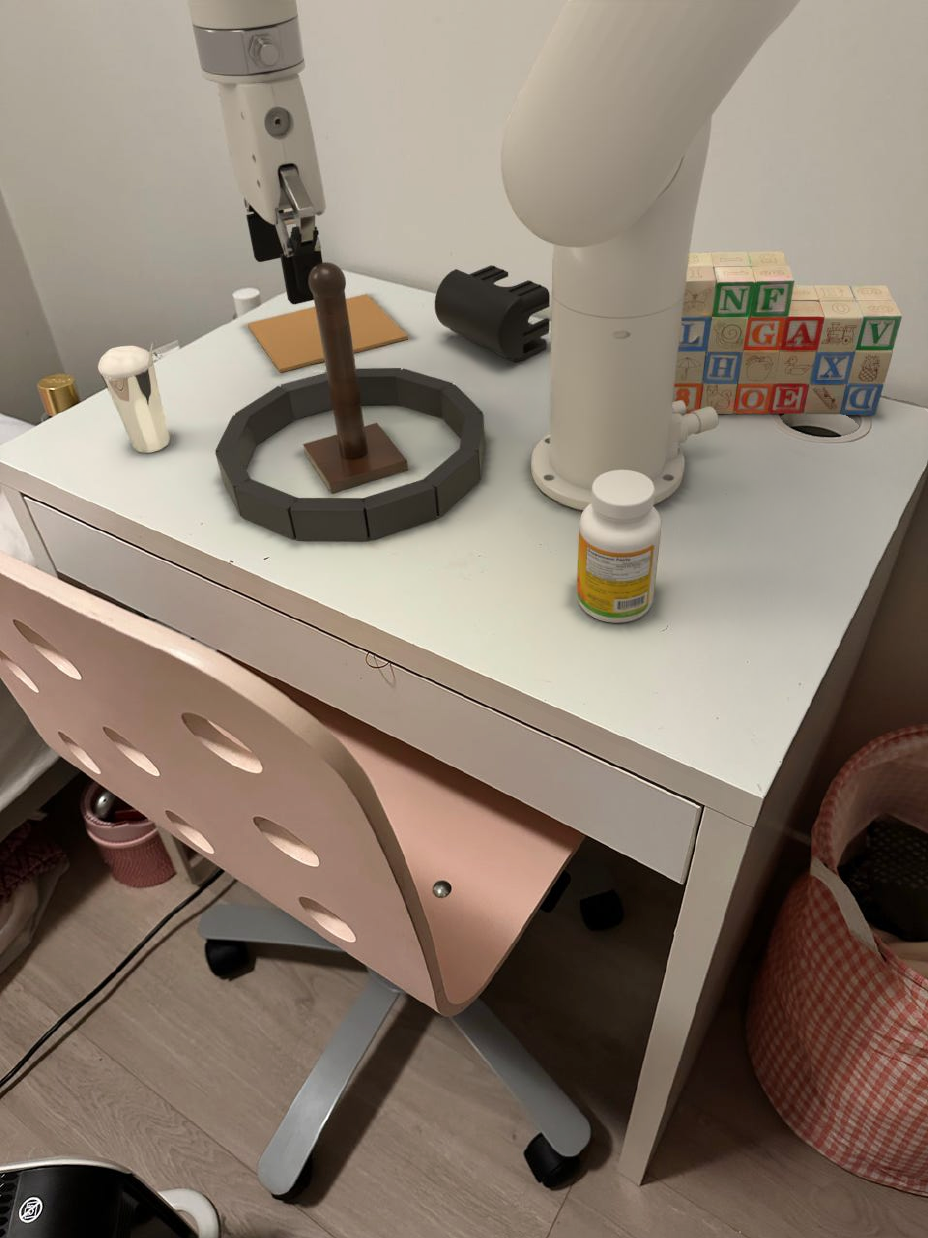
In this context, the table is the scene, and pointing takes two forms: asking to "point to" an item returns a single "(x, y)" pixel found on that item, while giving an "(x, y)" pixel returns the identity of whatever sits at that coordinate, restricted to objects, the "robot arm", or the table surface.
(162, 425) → the milkshake
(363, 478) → the headphone stand
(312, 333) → the desk pad
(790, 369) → the stack of blocks
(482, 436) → the ring
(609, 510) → the supplement bottle
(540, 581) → the table surface
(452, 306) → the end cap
